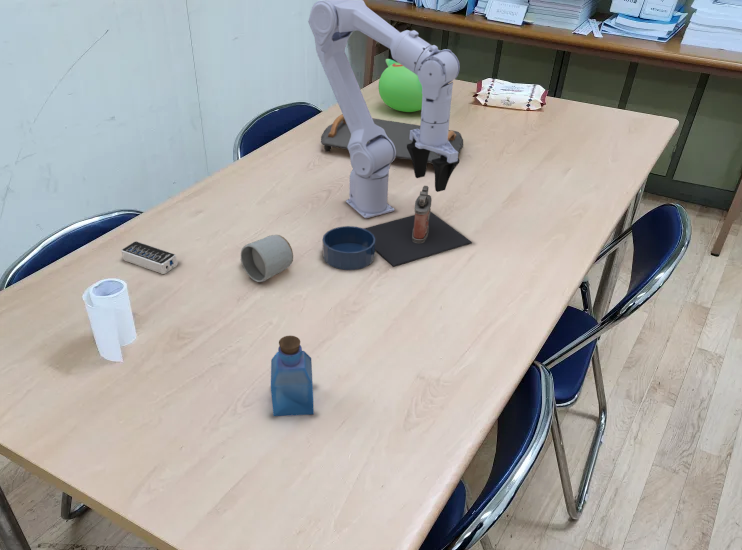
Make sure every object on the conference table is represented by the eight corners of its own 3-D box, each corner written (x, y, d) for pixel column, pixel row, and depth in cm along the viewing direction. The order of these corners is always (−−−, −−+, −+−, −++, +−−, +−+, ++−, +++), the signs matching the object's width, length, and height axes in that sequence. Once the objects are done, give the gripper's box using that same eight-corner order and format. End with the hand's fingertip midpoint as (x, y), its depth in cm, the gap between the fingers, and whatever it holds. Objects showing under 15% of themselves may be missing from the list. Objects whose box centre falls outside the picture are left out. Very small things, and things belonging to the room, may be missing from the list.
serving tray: (469, 143, 180) (472, 120, 176) (449, 176, 164) (452, 152, 160) (341, 123, 190) (341, 101, 186) (310, 152, 174) (309, 129, 170)
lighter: (425, 244, 138) (429, 201, 131) (409, 242, 138) (413, 199, 131) (430, 226, 143) (434, 184, 137) (415, 224, 144) (419, 182, 137)
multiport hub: (137, 250, 134) (135, 240, 133) (178, 264, 131) (176, 254, 129) (122, 260, 132) (120, 250, 130) (164, 274, 128) (161, 264, 126)
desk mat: (354, 232, 142) (354, 230, 141) (429, 212, 149) (429, 210, 149) (393, 266, 131) (393, 265, 131) (471, 243, 139) (471, 241, 139)
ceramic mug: (297, 271, 129) (295, 237, 124) (267, 288, 125) (264, 253, 120) (261, 253, 135) (257, 220, 129) (231, 269, 130) (226, 235, 125)
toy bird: (374, 116, 194) (376, 65, 184) (381, 98, 206) (383, 48, 197) (433, 121, 192) (438, 69, 182) (437, 102, 204) (442, 52, 195)
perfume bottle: (274, 388, 103) (268, 330, 95) (312, 387, 104) (310, 328, 96) (273, 416, 99) (267, 356, 91) (313, 414, 99) (311, 355, 91)
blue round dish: (314, 250, 136) (313, 233, 133) (358, 238, 140) (358, 221, 137) (338, 275, 129) (338, 257, 126) (384, 261, 133) (385, 244, 130)
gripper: (398, 111, 131) (396, 174, 140) (439, 134, 122) (434, 200, 131) (427, 105, 134) (422, 168, 143) (469, 127, 124) (461, 193, 133)
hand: (430, 183), depth 137 cm, fingers open, 7 cm apart
